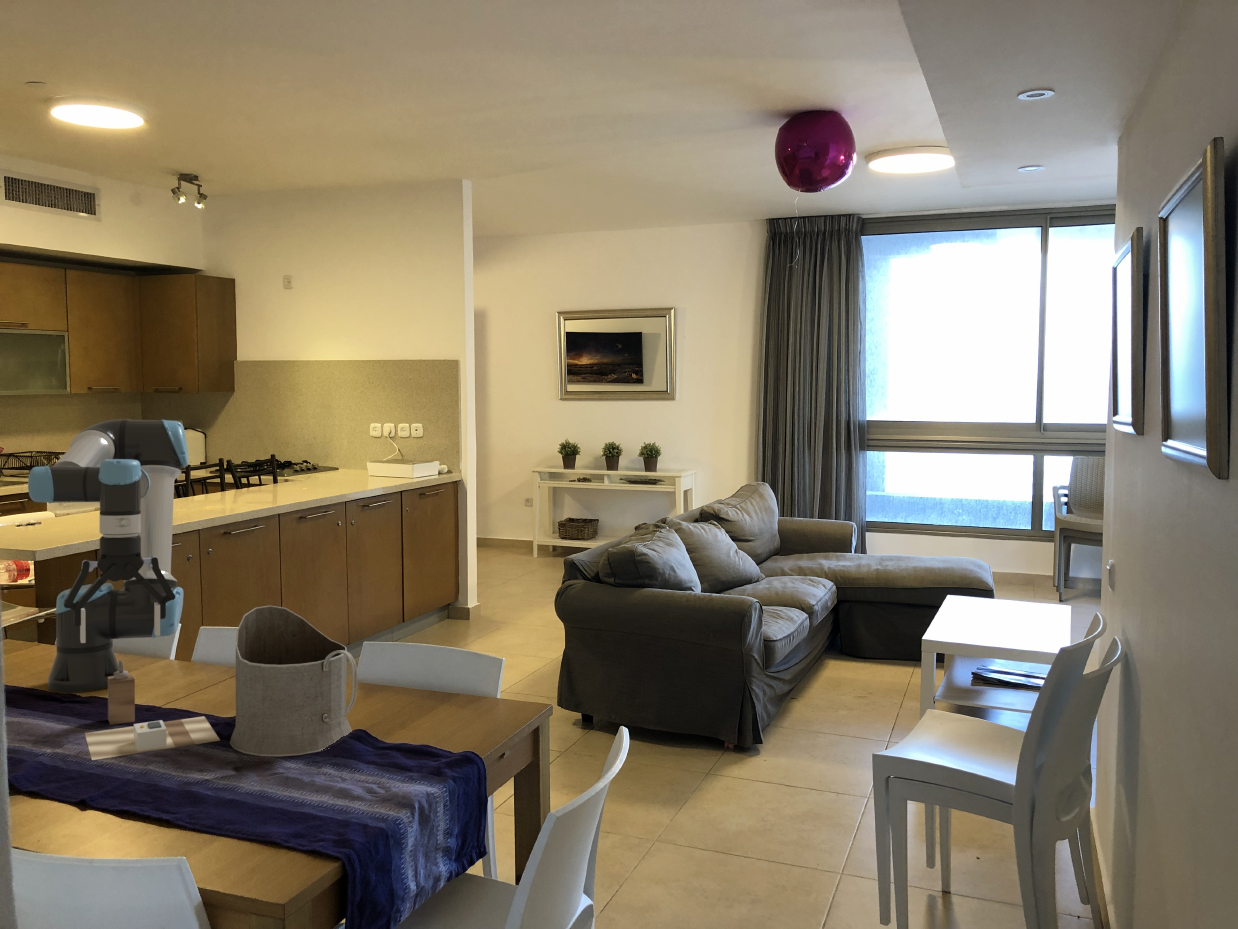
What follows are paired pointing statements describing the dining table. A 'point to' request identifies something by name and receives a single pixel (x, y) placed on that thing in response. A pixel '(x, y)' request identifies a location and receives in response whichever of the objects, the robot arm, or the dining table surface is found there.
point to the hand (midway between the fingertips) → (120, 638)
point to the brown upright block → (121, 697)
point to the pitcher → (288, 685)
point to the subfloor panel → (123, 744)
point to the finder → (150, 735)
